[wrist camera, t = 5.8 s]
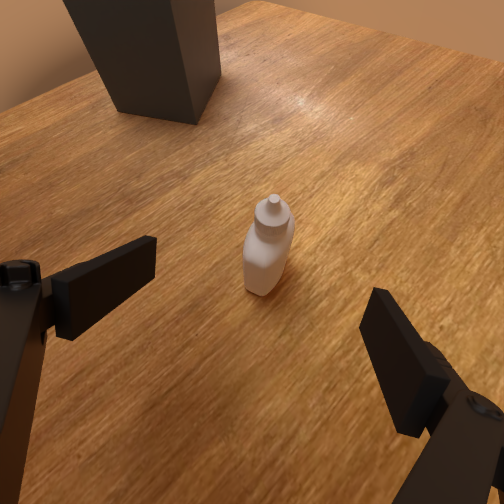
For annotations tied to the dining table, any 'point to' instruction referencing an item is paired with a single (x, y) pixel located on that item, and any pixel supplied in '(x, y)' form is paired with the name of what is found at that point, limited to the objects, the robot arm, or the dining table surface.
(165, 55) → the pedestal
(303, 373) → the dining table surface
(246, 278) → the eye dropper bottle
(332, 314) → the dining table surface
